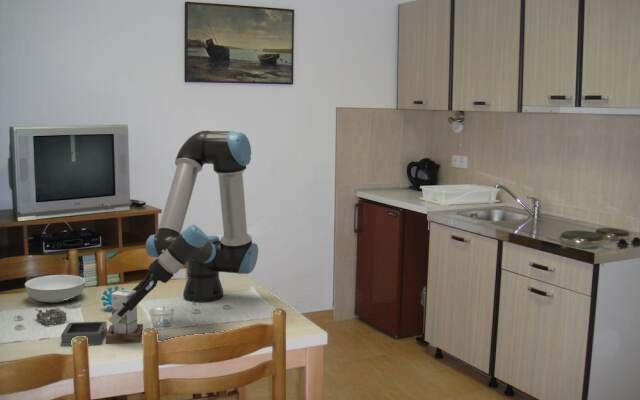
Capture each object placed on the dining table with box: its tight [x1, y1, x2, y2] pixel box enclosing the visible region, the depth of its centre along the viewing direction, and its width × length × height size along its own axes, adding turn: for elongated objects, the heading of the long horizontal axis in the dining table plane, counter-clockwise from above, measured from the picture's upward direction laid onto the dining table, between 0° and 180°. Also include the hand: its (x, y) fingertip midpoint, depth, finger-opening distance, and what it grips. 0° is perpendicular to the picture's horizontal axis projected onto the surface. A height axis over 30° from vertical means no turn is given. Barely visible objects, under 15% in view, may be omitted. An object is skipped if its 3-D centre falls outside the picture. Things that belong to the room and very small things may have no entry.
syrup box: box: [111, 288, 138, 334], centre depth 206 cm, size 6×6×14 cm
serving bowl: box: [24, 274, 86, 304], centre depth 245 cm, size 21×21×7 cm
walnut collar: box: [105, 323, 144, 344], centre depth 207 cm, size 10×10×2 cm
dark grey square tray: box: [60, 320, 108, 347], centre depth 205 cm, size 12×12×4 cm
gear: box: [100, 285, 126, 311], centre depth 237 cm, size 11×6×10 cm
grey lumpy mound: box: [35, 307, 68, 326], centre depth 221 cm, size 11×8×4 cm
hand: (113, 318), depth 206 cm, fingers closed on syrup box, 7 cm apart
